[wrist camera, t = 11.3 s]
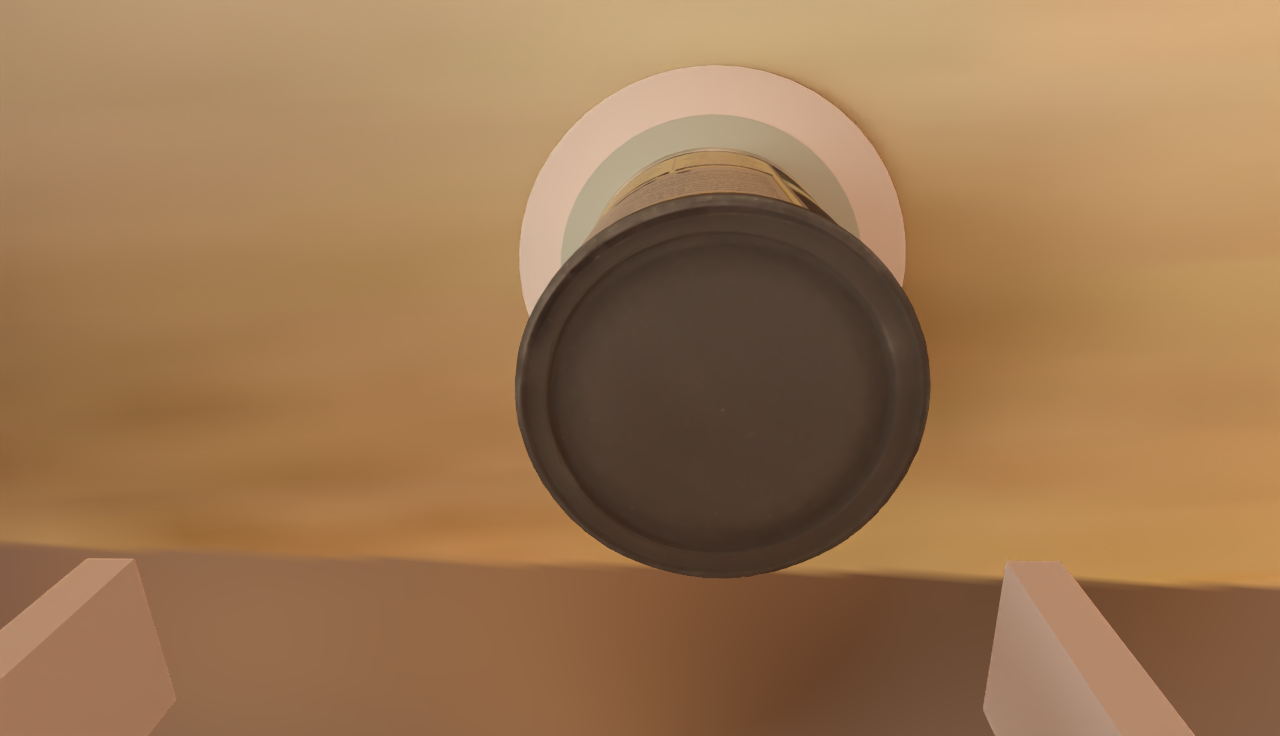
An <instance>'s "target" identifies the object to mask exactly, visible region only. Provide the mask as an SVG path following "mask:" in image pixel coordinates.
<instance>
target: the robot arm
mask: <svg viewBox="0 0 1280 736" xmlns="http://www.w3.org/2000/svg"><path fill="white" fill-rule="evenodd" d="M175 701H176V696H175V692H174V689H173V685H172V682H171V679H170V675H169V672H168V669H167V665H166V662H165V659H164V655H163V652H162V648H161V645H160V642H159V638H158V635H157V632H156V628H155V625H154V622H153V618H152V615H151V612H150V608H149V605H148V601H147V598H146V595H145V592H144V588H143V585H142V581H141V578H140V575H139V571H138V568H137V565H136V561H135V559H133V558H132V559H131V558H87V559H86V560H84V561H83V562H82V563H81V564H80V565H78V566H77V567H76V568H75V569H73V570H72V571H71V572H70V573H69V574H67V575H66V576H65V577H64V578H63V579H61V580H60V581H59V582H58V583H57V584H56V585H54V586H53V587H52V588H51V589H49V590H48V591H47V592H46V593H44V594H43V595H42V596H41V597H40V598H38V599H37V600H36V601H35V602H34V603H32V604H31V605H30V606H29V607H28V608H27V609H25V610H24V611H23V612H22V613H20V614H19V615H18V616H17V617H16V618H14V619H13V620H12V621H11V622H10V623H8V624H7V625H6V626H5V627H3V628H2V629H1V630H0V736H148V735H149V734H150V732H151V731H152V730H153V728H154V727H155V726H156V725H157V723H158V722H159V721H160V720H161V718H162V717H163V716H164V715H165V713H166V712H167V711H168V710H169V708H170V707H171V706H172V704H173V703H174V702H175ZM983 711H984V713H985V715H986V717H987V720H988V721H989V724H990V726H991V728H992V730H993V732H994V734H995V736H1195V735H1194V734H1193V733H1192V731H1191V730H1190V729H1189V727H1188V726H1187V725H1186V723H1185V722H1184V721H1183V720H1182V718H1181V717H1180V716H1179V714H1178V713H1177V712H1176V710H1175V709H1174V708H1173V707H1172V705H1171V704H1170V703H1169V701H1168V700H1167V699H1166V697H1165V696H1164V695H1163V693H1162V692H1161V691H1160V690H1159V688H1158V687H1157V686H1156V684H1155V683H1154V682H1153V681H1152V679H1151V678H1150V677H1149V675H1148V674H1147V673H1146V672H1145V670H1144V669H1143V668H1142V666H1141V665H1140V664H1139V663H1138V661H1137V660H1136V659H1135V657H1134V656H1133V655H1132V653H1131V652H1130V651H1129V649H1128V648H1127V647H1126V645H1125V644H1124V643H1123V642H1122V640H1121V639H1120V638H1119V636H1118V635H1117V634H1116V632H1115V631H1114V630H1113V629H1112V627H1111V626H1110V625H1109V624H1108V622H1107V621H1106V619H1105V618H1104V617H1103V616H1102V615H1101V613H1100V612H1099V610H1098V609H1097V608H1096V607H1095V605H1094V604H1093V603H1092V601H1091V600H1090V599H1089V598H1088V596H1087V595H1086V593H1085V592H1084V591H1083V590H1082V588H1081V587H1080V586H1079V584H1078V583H1077V582H1076V580H1075V579H1074V578H1073V577H1072V575H1071V574H1070V573H1069V571H1068V570H1067V569H1066V567H1065V566H1064V565H1063V564H1062V562H1061V561H1006V566H1005V572H1004V579H1003V585H1002V591H1001V598H1000V604H999V611H998V617H997V623H996V630H995V636H994V642H993V649H992V655H991V661H990V668H989V675H988V680H987V687H986V693H985V700H984V706H983Z"/></svg>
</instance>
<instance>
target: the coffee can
mask: <svg viewBox="0 0 1280 736" xmlns="http://www.w3.org/2000/svg"><path fill="white" fill-rule="evenodd" d="M515 400H516V410H517V417H518V424H519V427H520V431H521V434H522V437H523V441H524V444H525V447H526V449H527V452H528V455H529V457H530V459H531V462H532V464H533V466H534V468H535V470H536V472H537V473H538V475H539V477H540V479H541V481H542V483H543V484H544V486H545V487H546V488H547V490H548V491H549V492H550V494H551V495H552V497H553V498H554V500H555V501H556V502H557V503H558V504H559V506H560V507H561V508H562V509H563V510H564V511H565V513H566V514H567V515H568V516H569V517H570V518H571V519H572V520H573V521H574V522H575V523H577V524H578V525H579V526H580V527H581V528H582V529H583V530H584V531H585V532H587V533H588V534H589V535H591V536H592V537H594V538H595V539H596V540H598V541H599V542H601V543H602V544H603V545H605V546H606V547H608V548H610V549H612V550H614V551H615V552H617V553H619V554H621V555H623V556H625V557H628V558H630V559H632V560H635V561H637V562H640V563H642V564H645V565H648V566H651V567H654V568H657V569H661V570H664V571H668V572H673V573H678V574H682V575H687V576H696V577H703V578H740V577H750V576H753V575H757V574H764V573H769V572H774V571H778V570H781V569H784V568H788V567H790V566H793V565H796V564H799V563H802V562H804V561H806V560H809V559H811V558H813V557H816V556H818V555H820V554H822V553H824V552H826V551H828V550H830V549H832V548H834V547H835V546H837V545H839V544H840V543H842V542H843V541H845V540H846V539H848V538H849V537H850V536H851V535H853V534H854V533H855V532H857V531H858V530H860V529H861V528H862V527H863V526H864V525H865V524H866V523H867V522H868V521H870V520H871V519H872V518H873V517H874V516H875V515H876V514H877V513H878V512H879V510H880V509H881V508H882V507H883V506H884V505H885V504H886V502H887V501H888V500H889V498H890V497H891V496H892V494H893V493H894V492H895V490H896V489H897V487H898V486H899V484H900V483H901V481H902V480H903V478H904V477H905V475H906V473H907V472H908V469H909V467H910V465H911V463H912V461H913V459H914V457H915V455H916V453H917V451H918V449H919V445H920V442H921V439H922V436H923V433H924V429H925V424H926V420H927V415H928V409H929V400H930V371H929V359H928V354H927V347H926V342H925V338H924V335H923V332H922V330H921V327H920V324H919V321H918V318H917V316H916V313H915V311H914V308H913V306H912V304H911V303H910V301H909V299H908V297H907V295H906V294H905V292H904V290H903V289H902V287H901V286H900V284H899V283H898V281H897V280H896V278H895V277H894V276H893V274H892V273H891V271H890V270H889V269H888V268H887V267H886V265H885V264H884V263H883V262H882V261H881V260H880V259H879V258H878V257H877V256H876V255H875V254H874V253H873V251H872V250H870V249H869V248H868V247H867V246H866V245H865V244H864V243H863V242H862V241H860V240H859V239H858V238H856V237H855V236H854V235H852V234H851V233H850V232H848V231H847V230H845V229H844V228H842V227H841V226H840V225H838V224H837V223H836V222H835V221H834V220H833V219H832V218H831V217H830V216H829V215H828V214H827V213H826V212H825V211H824V210H823V209H822V208H821V207H820V206H819V205H818V204H817V203H816V201H815V200H814V199H813V197H812V196H811V195H810V194H809V192H808V191H807V190H806V189H805V188H804V186H803V185H802V184H801V183H800V182H799V181H798V180H797V179H796V178H794V177H793V176H792V175H791V174H789V173H788V172H787V171H785V170H784V169H782V168H781V167H779V166H778V165H776V164H775V163H772V162H771V161H769V160H768V159H766V158H763V157H761V156H758V155H756V154H753V153H749V152H746V151H741V150H736V149H731V148H717V147H706V148H696V149H690V150H684V151H680V152H677V153H673V154H670V155H666V156H664V157H662V158H660V159H658V160H656V161H654V162H652V163H651V164H649V165H647V166H646V167H644V168H642V169H641V170H639V171H638V172H637V173H635V174H634V175H633V176H632V177H631V178H629V179H628V180H627V181H626V182H625V183H624V184H623V185H622V186H621V187H620V188H619V189H618V190H617V191H616V193H615V194H614V195H613V196H612V198H611V199H610V200H609V202H608V203H607V205H606V206H605V208H604V210H603V211H602V213H601V215H600V217H599V219H598V221H597V223H596V225H595V226H594V228H593V229H592V231H591V232H590V234H589V235H588V237H587V238H586V240H585V241H584V243H583V244H582V246H581V247H580V248H579V249H577V250H576V251H575V253H574V254H573V255H572V256H571V257H570V258H569V259H568V260H567V261H566V262H565V263H564V264H563V265H562V267H561V268H560V269H559V270H558V271H557V273H556V274H555V275H554V277H553V278H552V279H551V281H550V282H549V284H548V285H547V287H546V288H545V290H544V291H543V293H542V294H541V296H540V298H539V299H538V301H537V303H536V305H535V307H534V309H533V311H532V313H531V315H530V317H529V319H528V322H527V325H526V328H525V330H524V333H523V336H522V340H521V343H520V347H519V352H518V358H517V368H516V377H515Z"/></svg>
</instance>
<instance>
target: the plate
mask: <svg viewBox="0 0 1280 736" xmlns="http://www.w3.org/2000/svg"><path fill="white" fill-rule="evenodd" d="M706 147H717V148H731V149H736V150H741V151H746V152H749V153H753V154H756V155H758V156H761V157H763V158H766V159H768V160H769V161H771V162H772V163H775V164H776V165H778V166H779V167H781V168H782V169H784V170H785V171H787V172H788V173H789V174H791V175H792V176H793V177H794V178H796V179H797V180H798V181H799V182H800V183H801V184H802V185H803V186H804V188H805V189H806V190H807V191H808V192H809V194H810V195H811V196H812V197H813V199H814V200H815V201H816V203H817V204H818V205H819V206H820V207H821V208H822V209H823V210H824V211H825V212H826V213H827V214H828V215H829V216H830V217H831V218H832V219H833V220H834V221H835V222H836V223H837V224H838V225H840V226H841V227H842V228H844V229H845V230H847V231H848V232H850V233H851V234H852V235H854V236H855V237H856V238H858V239H859V240H860V241H862V242H863V243H864V244H865V245H866V246H867V247H868V248H869V249H870V250H872V251H873V253H874V254H875V255H876V256H877V257H878V258H879V259H880V260H881V261H882V262H883V263H884V264H885V265H886V267H887V268H888V269H889V270H890V271H891V273H892V274H893V276H894V277H895V278H896V280H897V281H898V283H899V284H900V286H901V287H902V286H903V280H904V274H905V261H906V239H905V230H904V221H903V216H902V212H901V208H900V204H899V200H898V196H897V193H896V190H895V188H894V185H893V183H892V180H891V178H890V176H889V173H888V171H887V169H886V167H885V165H884V164H883V162H882V160H881V158H880V157H879V155H878V153H877V152H876V150H875V148H874V147H873V145H872V144H871V143H870V142H869V140H868V139H867V138H866V137H865V135H864V134H863V133H862V132H861V130H860V129H859V128H858V127H857V125H855V124H854V123H853V122H852V121H851V120H850V119H849V118H848V117H847V116H846V115H845V114H844V113H843V112H842V111H841V110H839V109H838V108H837V107H836V106H834V105H833V104H832V103H830V102H829V101H827V100H826V99H824V98H823V97H822V96H820V95H819V94H817V93H816V92H814V91H812V90H810V89H808V88H806V87H804V86H802V85H800V84H798V83H796V82H794V81H792V80H790V79H787V78H784V77H781V76H778V75H775V74H772V73H769V72H766V71H762V70H756V69H751V68H745V67H740V66H724V65H704V66H694V67H683V68H679V69H675V70H671V71H666V72H662V73H658V74H655V75H652V76H650V77H647V78H645V79H642V80H639V81H637V82H634V83H632V84H630V85H628V86H626V87H624V88H623V89H621V90H619V91H617V92H615V93H614V94H612V95H610V96H608V97H607V98H605V99H604V100H603V101H601V102H600V103H599V104H597V105H596V106H595V107H593V108H592V109H591V110H589V111H588V112H587V113H585V114H584V115H583V116H582V117H581V118H580V119H579V120H578V121H577V122H576V123H575V124H574V125H573V126H572V127H571V128H570V129H569V130H568V131H567V132H566V134H565V135H564V136H563V138H562V139H561V140H560V141H559V143H558V144H557V145H556V147H555V148H554V149H553V151H552V152H551V153H550V155H549V157H548V159H547V160H546V162H545V164H544V166H543V167H542V169H541V171H540V173H539V174H538V177H537V179H536V181H535V184H534V186H533V189H532V191H531V194H530V196H529V199H528V203H527V206H526V210H525V214H524V218H523V222H522V229H521V237H520V245H519V267H520V278H521V285H522V292H523V297H524V301H525V305H526V308H527V312H528V315H529V317H530V315H531V313H532V311H533V309H534V307H535V305H536V303H537V301H538V299H539V298H540V296H541V294H542V293H543V291H544V290H545V288H546V287H547V285H548V284H549V282H550V281H551V279H552V278H553V277H554V275H555V274H556V273H557V271H558V270H559V269H560V268H561V267H562V265H563V264H564V263H565V262H566V261H567V260H568V259H569V258H570V257H571V256H572V255H573V254H574V253H575V251H576V250H577V249H579V248H580V247H581V246H582V244H583V243H584V241H585V240H586V238H587V237H588V235H589V234H590V232H591V231H592V229H593V228H594V226H595V225H596V223H597V221H598V219H599V217H600V215H601V213H602V211H603V210H604V208H605V206H606V205H607V203H608V202H609V200H610V199H611V198H612V196H613V195H614V194H615V193H616V191H617V190H618V189H619V188H620V187H621V186H622V185H623V184H624V183H625V182H626V181H627V180H628V179H629V178H631V177H632V176H633V175H634V174H635V173H637V172H638V171H639V170H641V169H642V168H644V167H646V166H647V165H649V164H651V163H652V162H654V161H656V160H658V159H660V158H662V157H664V156H666V155H670V154H673V153H677V152H680V151H684V150H690V149H696V148H706Z"/></svg>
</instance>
